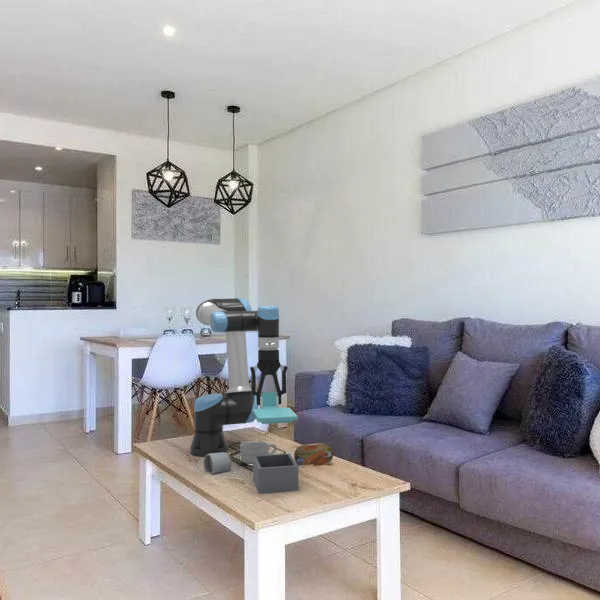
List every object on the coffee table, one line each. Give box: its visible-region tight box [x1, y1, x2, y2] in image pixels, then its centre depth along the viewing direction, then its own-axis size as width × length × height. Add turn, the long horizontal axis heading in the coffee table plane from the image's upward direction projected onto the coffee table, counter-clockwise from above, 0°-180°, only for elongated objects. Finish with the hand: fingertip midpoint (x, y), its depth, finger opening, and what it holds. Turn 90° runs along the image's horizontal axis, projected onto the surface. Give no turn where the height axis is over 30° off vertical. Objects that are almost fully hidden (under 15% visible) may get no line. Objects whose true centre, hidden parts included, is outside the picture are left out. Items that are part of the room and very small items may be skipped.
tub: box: [252, 453, 300, 495], centre depth 184 cm, size 15×13×9 cm
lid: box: [253, 391, 299, 425], centre depth 187 cm, size 21×13×7 cm, turn 12°
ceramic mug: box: [203, 452, 232, 475], centre depth 202 cm, size 11×8×8 cm
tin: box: [293, 442, 334, 467], centre depth 208 cm, size 15×3×8 cm, turn 105°
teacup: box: [240, 441, 278, 465], centre depth 211 cm, size 14×11×8 cm
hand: (269, 413), depth 197 cm, fingers closed on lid, 5 cm apart
